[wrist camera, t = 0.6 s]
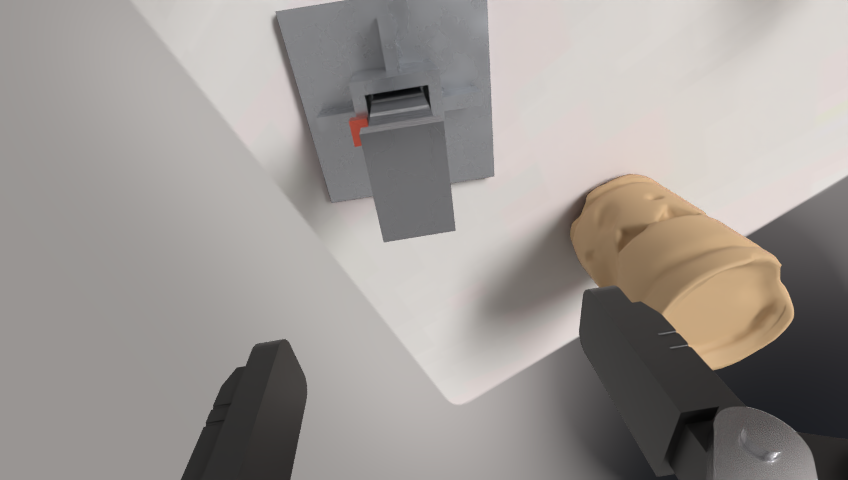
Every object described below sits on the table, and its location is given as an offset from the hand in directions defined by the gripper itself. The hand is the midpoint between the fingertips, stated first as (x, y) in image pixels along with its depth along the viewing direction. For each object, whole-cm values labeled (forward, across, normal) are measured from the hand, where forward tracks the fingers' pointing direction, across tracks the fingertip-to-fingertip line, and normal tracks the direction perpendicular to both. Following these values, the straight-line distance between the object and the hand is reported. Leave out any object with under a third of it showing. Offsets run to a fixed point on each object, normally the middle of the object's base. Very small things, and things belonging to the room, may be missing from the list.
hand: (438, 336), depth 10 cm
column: (+30, 0, 0) cm, 30 cm away
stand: (+32, 0, 0) cm, 32 cm away
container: (+32, -24, +18) cm, 44 cm away
